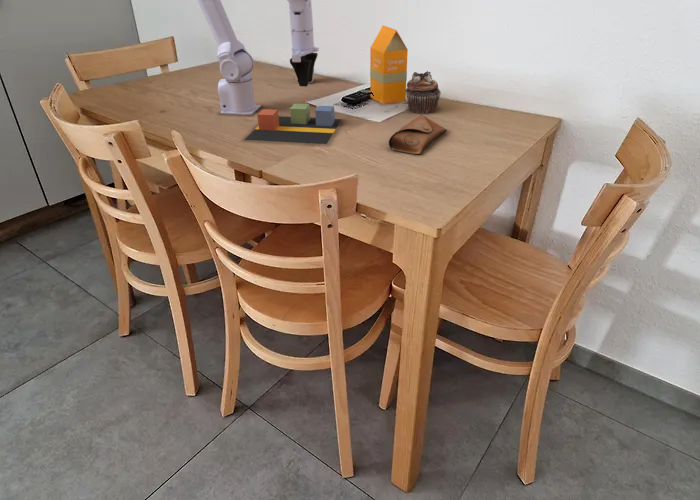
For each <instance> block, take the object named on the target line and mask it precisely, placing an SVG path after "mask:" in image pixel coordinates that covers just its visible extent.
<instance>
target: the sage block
mask: <svg viewBox="0 0 700 500" xmlns="http://www.w3.org/2000/svg"><path fill="white" fill-rule="evenodd" d="M289 113H290V117H291V124H307V123H308V122H309V120H310V118H311V107H310V104H309V103H294V104H292V106H291V107H290V108H289Z"/></svg>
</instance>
